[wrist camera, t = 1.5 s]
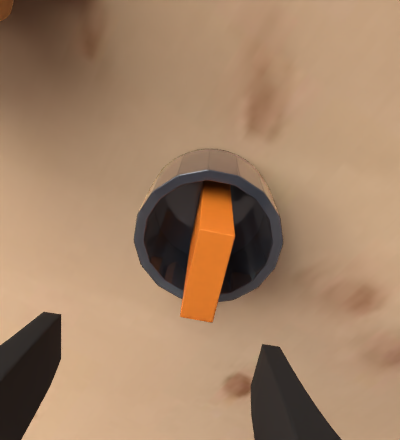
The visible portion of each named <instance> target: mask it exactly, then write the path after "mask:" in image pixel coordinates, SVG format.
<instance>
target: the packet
mask: <svg viewBox="0 0 400 440" xmlns="http://www.w3.org/2000/svg"><path fill="white" fill-rule="evenodd" d="M234 239H235V230H234V220H233V210H232V200H231V190H230V184H225V183H220V182H215V181H210V180H206V181H203V184H202V189H201V193H200V198H199V203H198V208H197V212H196V217H195V222H194V227H193V231H192V236H191V241H190V248H189V255H188V263H187V270H186V277H185V284H184V292H183V299H182V306H181V313H180V317H184V318H189V319H195V320H200V321H206V322H211V323H212V322H213V319H214V315H215V311H216V307H217V303H218V300H219V296H220V292H221V288H222V284H223V281H224V277H225V273H226V269H227V265H228V262H229V258H230V254H231V250H232V246H233V243H234Z"/></svg>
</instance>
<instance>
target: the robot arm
mask: <svg viewBox="0 0 400 440" xmlns="http://www.w3.org/2000/svg"><path fill="white" fill-rule="evenodd" d="M60 360H61V314H54V313H48V312H43V313H42V314H40V315H39V316H38V317H36V318H35V319H34V320H33V321H31V322H30V323H29V324H28V325H26V326H25V327H24V328H23V329H21V330H20V331H19V332H17V333H16V334H15V335H14V336H12V337H11V338H10V339H8V340H7V341H6V342H4V343H3V344H2V345H0V440H21V439H22V437H23V435H24V434H25V432H26V430H27V428H28V426H29V424H30V423H31V421H32V419H33V417H34V415H35V413H36V411H37V410H38V408H39V406H40V404H41V402H42V400H43V399H44V397H45V395H46V393H47V391H48V389H49V387H50V385H51V383H52V380H53V378H54V375H55V373H56V370H57V368H58V365H59V362H60ZM251 415H252V423H253V430H254V438H255V440H341V438H340V437H339V436H338V435H337V434H336V432H335V431H334V430H333V429H332V427H331V426H330V425H329V423H328V422H327V421H326V419H325V418H324V416H323V415H322V414H321V412H320V411H319V410H318V408H317V407H316V405H315V404H314V402H313V401H312V399H311V398H310V396H309V395H308V393H307V392H306V390H305V389H304V387H303V385H302V384H301V382H300V381H299V379H298V377H297V376H296V374H295V372H294V371H293V369H292V367H291V366H290V364H289V362H288V360H287V359H286V357H285V355H284V353H283V352H282V350H281V348H280V347H278V346H271V345H264V344H262V348H261V351H260V355H259V358H258V362H257V365H256V369H255V373H254V376H253V380H252V383H251Z"/></svg>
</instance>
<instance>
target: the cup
mask: <svg viewBox="0 0 400 440" xmlns="http://www.w3.org/2000/svg"><path fill="white" fill-rule="evenodd" d="M206 180H210V181H215V182H220V183H225V184H230V190H231V200H232V210H233V220H234V230H235V239H234V243H233V246H232V250H231V254H230V258H229V262H228V265H227V269H226V273H225V277H224V281H223V284H222V288H221V292H220V296H219V300H218V302H223V301H230V300H234V299H237V298H239V297H241V296H243V295H245V294H246V293H248V292H250V291H252V290H254V289H256V288H257V287H259V286H260V285H261V284H262V282H263V281H264V280H265V279H266V278H267V277H268V276H269V274H270V273H271V272H272V271H273V270H274V269H275V267H276V264H277V261H278V258H279V255H280V252H281V248H282V245H283V236H282V228H281V220H280V216H279V213H278V210H277V208H276V205H275V203H274V200H273V197H272V195H271V192H270V189H269V188H268V186H267V184H266V183H265V181H264V179H263V177H262V176H261V174H260V173H259V172H258V170H257V169H256V168H255V167H254V166H253V165H252V164H250V163H249V162H248V161H247V160H245V159H243V158H242V157H240V156H238V155H236V154H233V153H231V152H228V151H224V150H218V149H201V150H195V151H191V152H188V153H186V154H183V155H181V156H179V157H177V158H176V159H174V160H173V161H171V162H170V163H169V164H167V165H166V166H165V167H164V168H163V169H162V170H161V172H160V173H159V175H158V176H157V178H156V180H155V181H154V183H153V184H152V186H151V187H150V189H149V191H148V193H147V196H146V198H145V200H144V202H143V204H142V206H141V208H140V210H139V212H138V215H137V220H136V227H135V234H134V244H135V247H136V250H137V254H138V257H139V260H140V264H141V265H142V267H143V268H144V269H145V271H146V272H147V273H148V274H149V275H150V277H151V278H152V279H153V280H154V281H155V283H156V284H157V285H158V286H159V287H161V288H163V289H165V290H166V291H168V292H170V293H172V294H173V295H175V296H177V297H179V298H181V299H183V292H184V284H185V277H186V270H187V263H188V255H189V248H190V241H191V236H192V231H193V227H194V222H195V217H196V212H197V208H198V203H199V198H200V193H201V189H202V184H203V181H206Z"/></svg>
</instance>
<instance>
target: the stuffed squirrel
mask: <svg viewBox="0 0 400 440" xmlns="http://www.w3.org/2000/svg"><path fill="white" fill-rule="evenodd" d="M12 7H13V0H0V21H2V20H4V19H6V18H7V17H8V16H9V15H10V14H11V11H12Z"/></svg>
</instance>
